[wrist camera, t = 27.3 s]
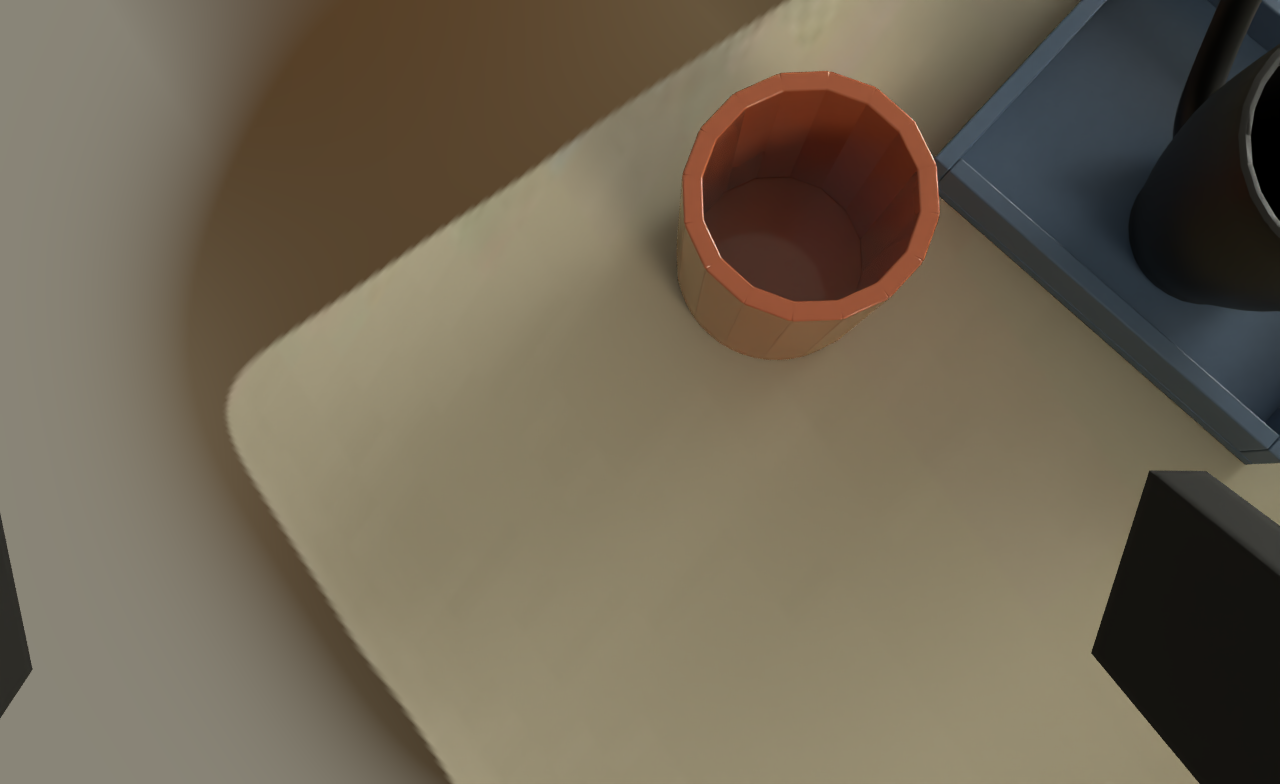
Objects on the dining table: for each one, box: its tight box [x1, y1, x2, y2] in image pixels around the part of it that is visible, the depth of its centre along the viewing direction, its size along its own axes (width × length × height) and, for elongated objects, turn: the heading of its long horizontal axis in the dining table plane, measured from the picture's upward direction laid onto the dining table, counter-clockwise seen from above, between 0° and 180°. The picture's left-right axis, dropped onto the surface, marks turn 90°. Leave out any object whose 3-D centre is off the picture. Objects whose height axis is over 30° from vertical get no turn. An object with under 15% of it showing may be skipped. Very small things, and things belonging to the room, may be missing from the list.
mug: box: [1128, 0, 1280, 312], centre depth 33 cm, size 8×12×10 cm
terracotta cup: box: [676, 71, 940, 360], centre depth 34 cm, size 8×8×9 cm
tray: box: [934, 0, 1280, 464], centre depth 37 cm, size 16×13×2 cm
